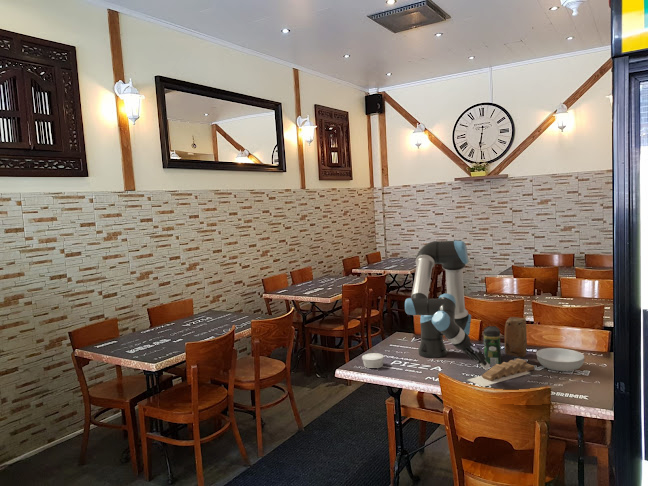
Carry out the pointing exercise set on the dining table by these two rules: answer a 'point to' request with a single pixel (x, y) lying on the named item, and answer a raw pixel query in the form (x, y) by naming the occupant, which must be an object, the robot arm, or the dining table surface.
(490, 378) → the domino
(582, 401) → the dining table surface
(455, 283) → the robot arm
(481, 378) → the domino board
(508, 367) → the domino
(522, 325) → the block
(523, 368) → the domino
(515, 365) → the domino
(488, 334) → the coffee jar
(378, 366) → the ramekin
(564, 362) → the serving bowl
